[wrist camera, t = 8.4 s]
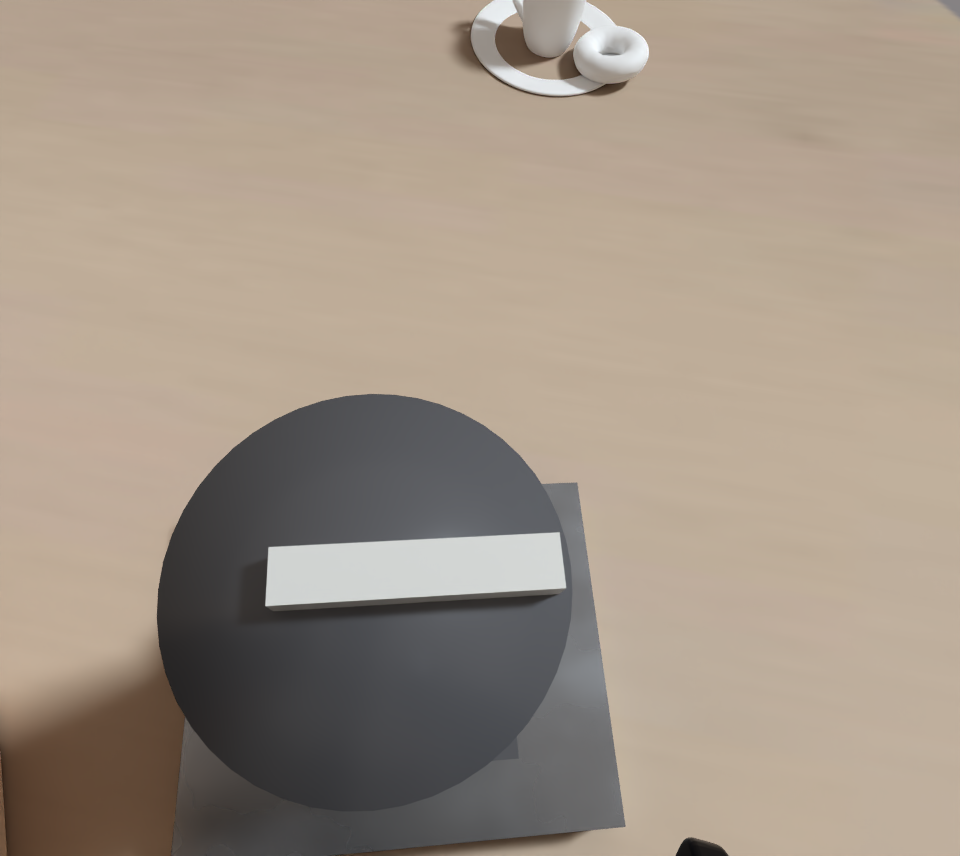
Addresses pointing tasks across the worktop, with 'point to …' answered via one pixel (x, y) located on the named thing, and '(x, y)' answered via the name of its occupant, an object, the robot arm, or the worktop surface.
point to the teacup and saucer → (561, 44)
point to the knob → (365, 603)
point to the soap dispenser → (2, 819)
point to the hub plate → (462, 808)
